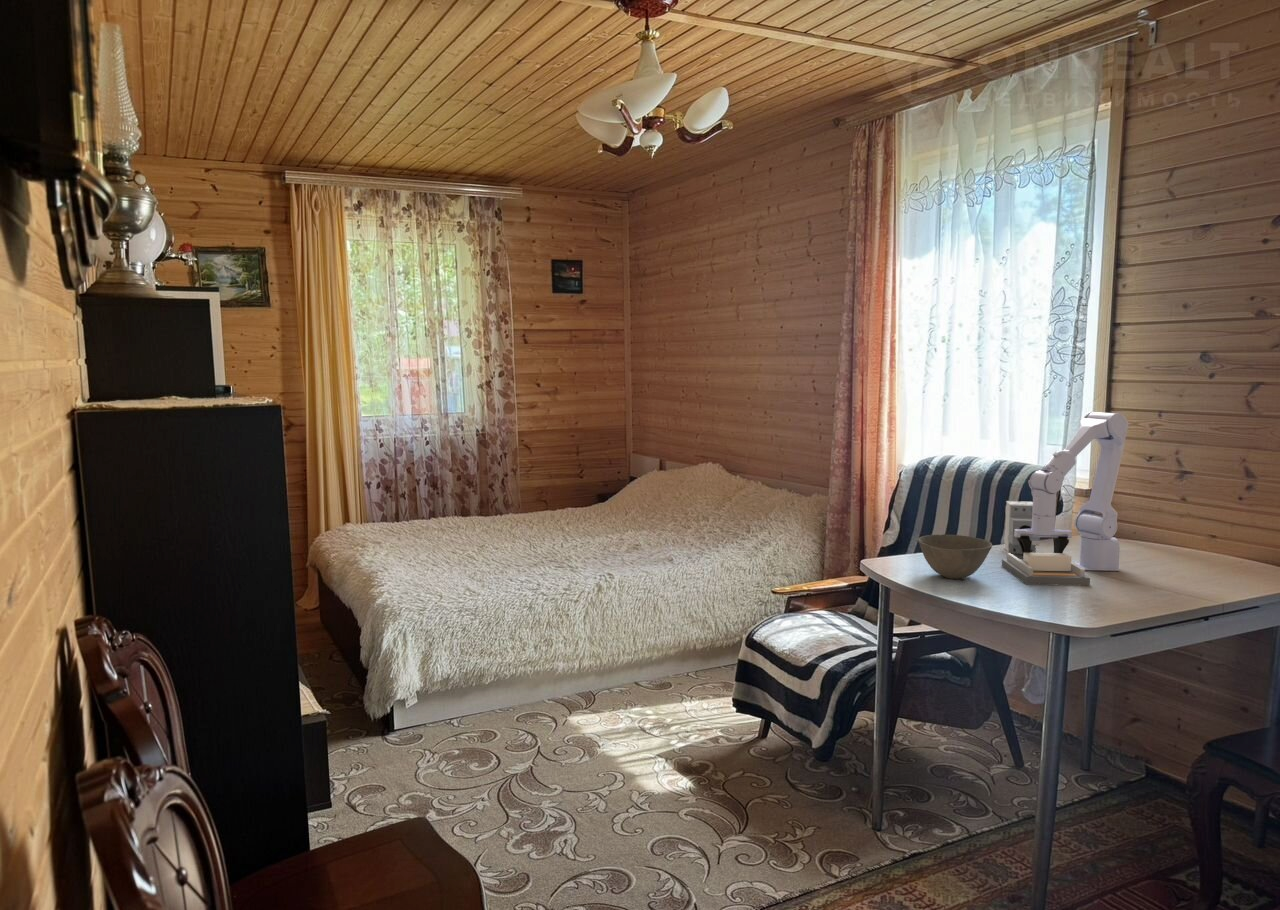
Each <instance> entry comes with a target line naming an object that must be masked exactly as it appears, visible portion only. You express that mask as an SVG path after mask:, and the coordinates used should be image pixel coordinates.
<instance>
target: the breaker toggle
mask: <svg viewBox="0 0 1280 910" xmlns="http://www.w3.org/2000/svg"><path fill="white" fill-rule="evenodd" d="M1022 556H1023V562H1024V563H1026V564H1027V565H1029V566H1030V567H1032V568H1033V571H1071V562H1072V559H1073V558H1072V556H1071V555H1070V554H1069V553H1066V552H1065V553H1064V552H1063V553H1054V552H1036V553H1024V555H1023V554H1022Z"/></svg>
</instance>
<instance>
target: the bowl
mask: <svg viewBox="0 0 1280 910" xmlns="http://www.w3.org/2000/svg"><path fill="white" fill-rule="evenodd" d="M917 542H918V544H919V547H920V550H921V552H922V555H923V557H924V559H925V561H926V562H927V564H928V565H929V566H930V568H931V569H932V570H933V571H934V572H935V573H936V574H938V575H940V576H941V577H944V578H947V579H953V580H957V579H958V580H961V579H967V578H968V577H971V576H972V575H973V574H975V573H976V572H977V571H978V570H979V568H980V567H981V566H982V565H983V564H984V562H985V560H986V558H987V557H988V555H989V553H990V551H991V549H992V547H993V543H992V542H991V541H990V540H989V541H988V540H986V539H983V538H980V537H979V538H978V537H973V536H968V535H960V534H945V533H944V534H943V533H942V534H928V535H927V534H926V535H923V536H920V537H918V539H917Z"/></svg>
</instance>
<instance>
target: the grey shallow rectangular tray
mask: <svg viewBox="0 0 1280 910" xmlns="http://www.w3.org/2000/svg"><path fill="white" fill-rule="evenodd" d="M1006 553H1007V554H1006V558H1002V559H1001V567H1002V568H1004V569H1005V570H1006V569H1007V570H1006V571H1008V572H1009V573H1010V572H1011V573H1010V574H1012V575H1015V576H1014V577H1016V578H1017V579H1018V578H1019V579H1018V580H1020V581H1021V582H1022V581H1023V582H1022V583H1024V584H1025V585H1043V584H1058V585H1057V586H1091V577H1090V576H1087V575H1086V570H1085V569H1083V568H1082V567H1080V566H1078V565H1076V564H1075V563H1074V562H1073V561H1071V571H1033V568H1032V567H1030V566H1029V565H1027V564H1026V563H1024V562H1023V559H1020V558H1018V557H1017V556H1016V555H1015V554H1011V553H1008V552H1006Z"/></svg>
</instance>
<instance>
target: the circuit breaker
mask: <svg viewBox="0 0 1280 910" xmlns="http://www.w3.org/2000/svg"><path fill="white" fill-rule="evenodd" d="M1005 503H1006V505H1005V512H1004V513H1005V514H1004V515H1005V528H1004V529H1005V532H1004V537H1003V538H1004V540H1003V541H1004V542H1003V544H1004V547H1005V548H1004V550H1005V549H1006V550H1007V551H1006V553H1021V554H1020V555H1023V554H1022V553H1023V552H1022V548H1021V546H1020V544H1019V541H1018V539H1017V537H1015V536H1014V529H1032V510H1033V501H1017V500H1005ZM1029 538H1030V540H1031V541H1032V544H1031V549H1030V553H1037V551H1036V549H1037V548H1036V547H1037V546H1040V542H1041V541H1040V538H1041V537H1029Z"/></svg>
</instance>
